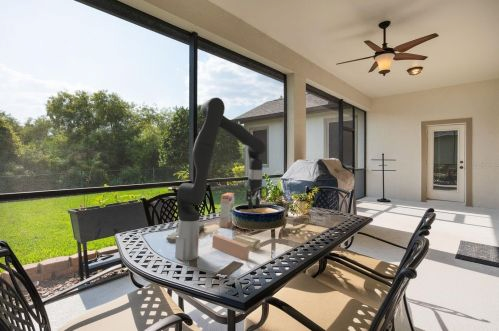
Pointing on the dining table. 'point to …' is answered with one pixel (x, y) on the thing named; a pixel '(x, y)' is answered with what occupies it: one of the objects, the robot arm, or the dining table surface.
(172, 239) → the long grey stone
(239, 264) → the wooden plank
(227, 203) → the cracker box
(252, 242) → the birch block
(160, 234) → the dining table surface
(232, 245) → the board
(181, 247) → the robot arm
